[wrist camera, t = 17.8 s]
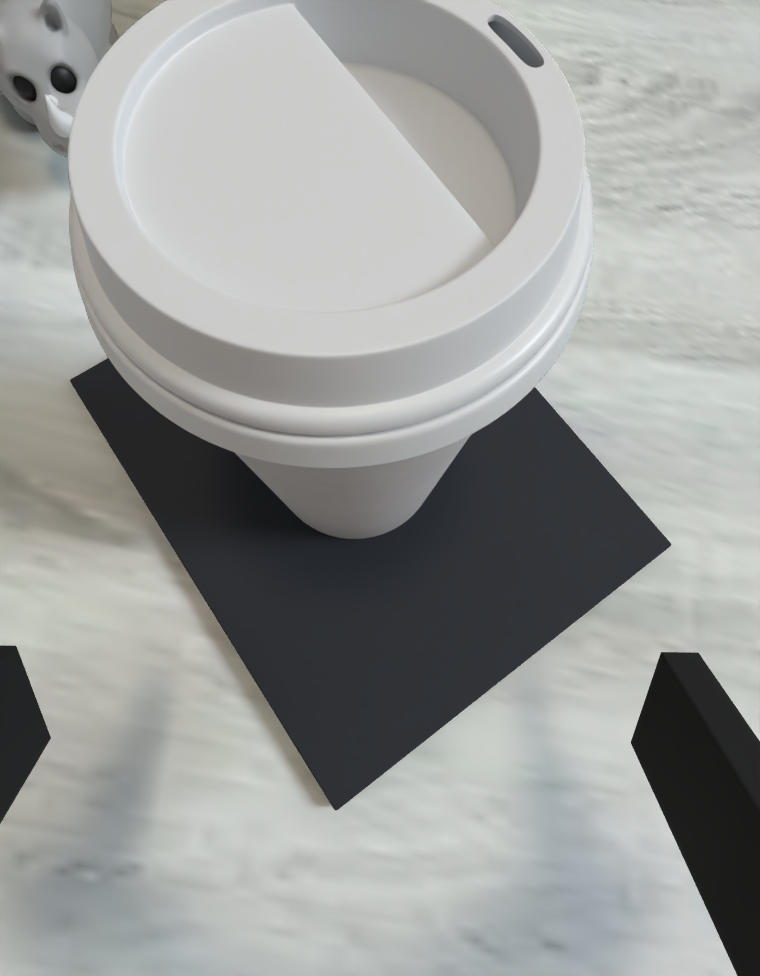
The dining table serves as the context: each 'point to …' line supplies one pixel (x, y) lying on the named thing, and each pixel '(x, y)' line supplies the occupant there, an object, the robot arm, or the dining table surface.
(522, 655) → the placemat
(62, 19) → the chubby cartoon animal
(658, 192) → the dining table surface
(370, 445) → the coffee cup
